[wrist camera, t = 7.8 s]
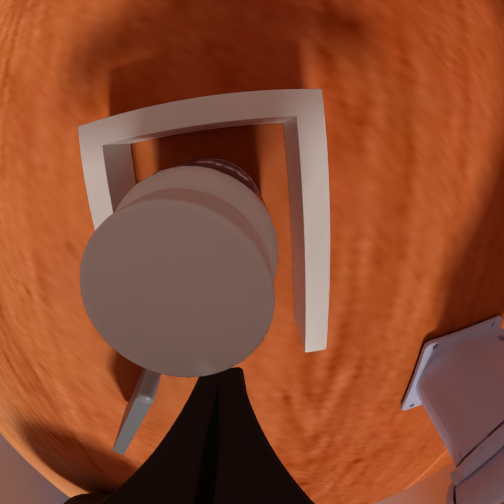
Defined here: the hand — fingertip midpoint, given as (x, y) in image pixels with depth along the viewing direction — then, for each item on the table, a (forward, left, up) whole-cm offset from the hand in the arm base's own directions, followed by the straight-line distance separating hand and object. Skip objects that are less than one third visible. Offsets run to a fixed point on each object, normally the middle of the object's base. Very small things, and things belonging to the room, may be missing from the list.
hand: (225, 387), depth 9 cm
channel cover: (+6, +5, -6) cm, 10 cm away
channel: (0, -4, -6) cm, 7 cm away
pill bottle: (0, -5, -6) cm, 8 cm away
